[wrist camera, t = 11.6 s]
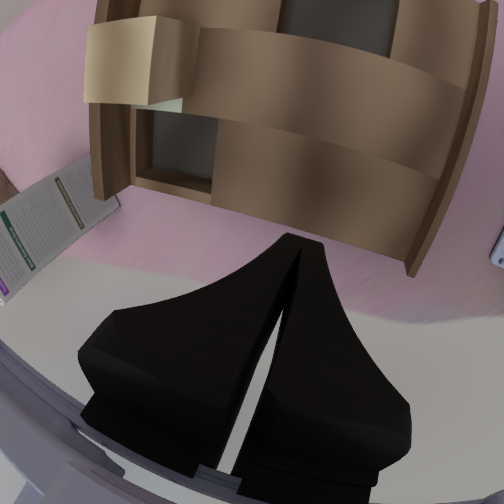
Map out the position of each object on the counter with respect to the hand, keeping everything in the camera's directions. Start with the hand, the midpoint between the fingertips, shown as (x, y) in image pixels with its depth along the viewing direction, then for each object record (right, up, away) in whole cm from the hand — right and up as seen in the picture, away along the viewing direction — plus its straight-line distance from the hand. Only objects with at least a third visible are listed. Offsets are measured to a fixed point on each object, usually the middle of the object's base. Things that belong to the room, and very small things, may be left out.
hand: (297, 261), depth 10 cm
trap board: (0, +11, +6) cm, 12 cm away
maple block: (-7, +12, +5) cm, 14 cm away
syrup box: (-17, +6, +15) cm, 23 cm away
